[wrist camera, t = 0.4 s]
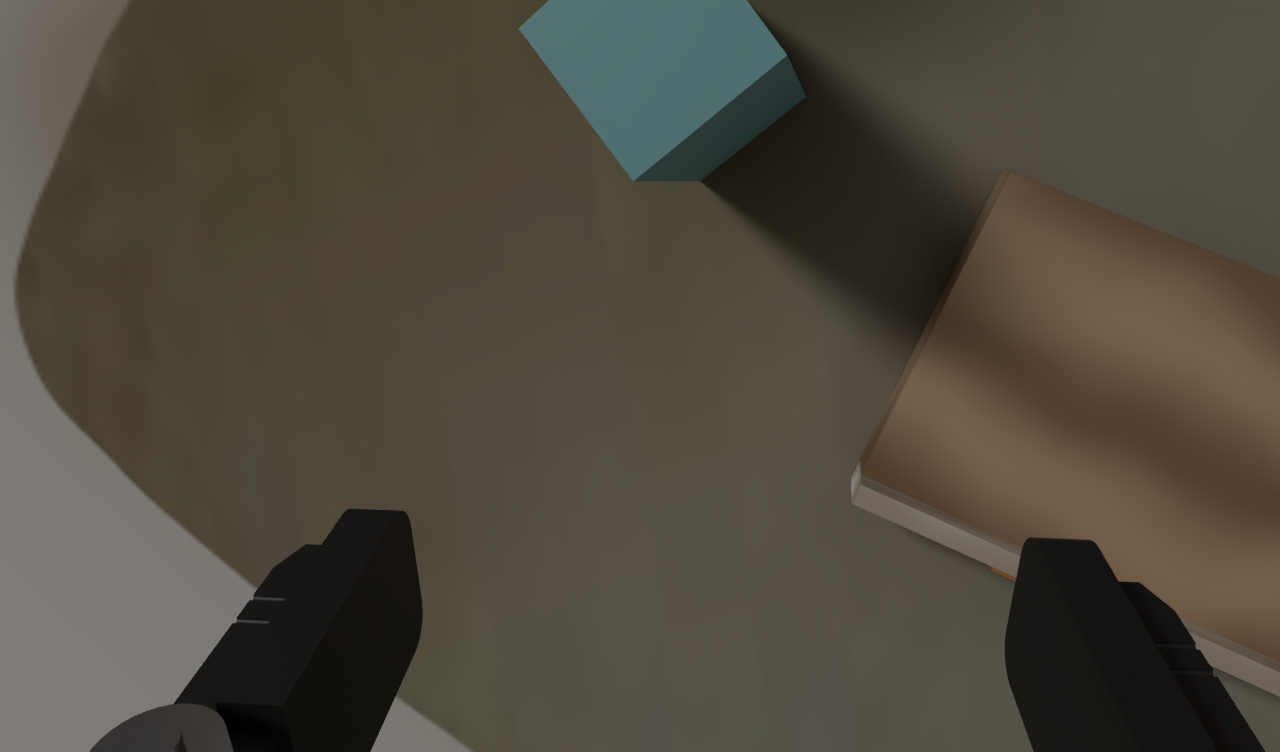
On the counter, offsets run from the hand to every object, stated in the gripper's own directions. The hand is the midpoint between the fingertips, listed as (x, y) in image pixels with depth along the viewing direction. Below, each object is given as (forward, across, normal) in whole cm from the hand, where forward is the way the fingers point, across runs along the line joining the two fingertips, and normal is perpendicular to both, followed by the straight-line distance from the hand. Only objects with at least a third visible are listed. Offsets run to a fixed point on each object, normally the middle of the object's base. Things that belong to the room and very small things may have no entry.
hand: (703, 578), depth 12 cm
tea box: (+27, +1, -2) cm, 27 cm away
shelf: (+22, -15, +8) cm, 28 cm away
